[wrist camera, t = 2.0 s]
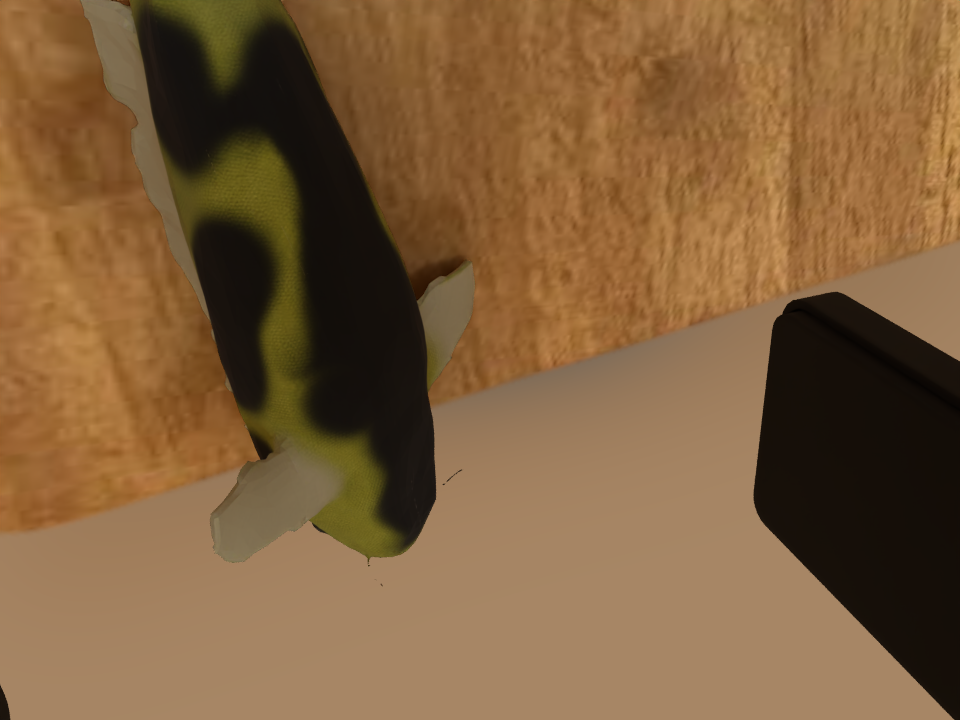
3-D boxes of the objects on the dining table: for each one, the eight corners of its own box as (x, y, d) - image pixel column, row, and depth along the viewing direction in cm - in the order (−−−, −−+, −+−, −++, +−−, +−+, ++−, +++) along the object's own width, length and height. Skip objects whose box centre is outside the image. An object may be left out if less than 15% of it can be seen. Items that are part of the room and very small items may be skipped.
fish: (637, 455, 27) (372, 408, 32) (455, -715, 14) (62, -481, 19) (451, 782, 19) (144, 653, 24) (-304, -1097, 6) (-617, -542, 12)
